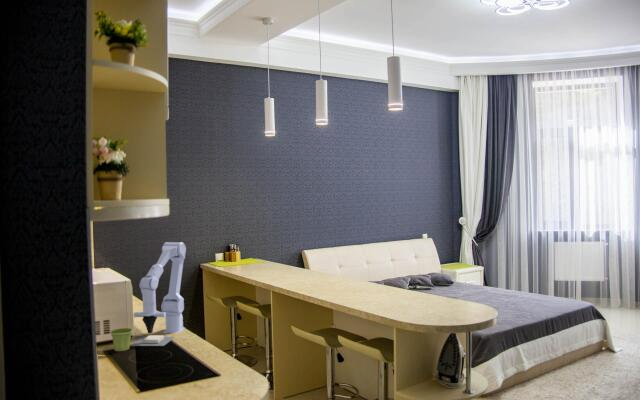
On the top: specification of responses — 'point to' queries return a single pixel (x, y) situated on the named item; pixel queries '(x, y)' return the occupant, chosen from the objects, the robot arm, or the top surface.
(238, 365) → the top surface
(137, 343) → the mat
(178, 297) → the robot arm
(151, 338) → the tile
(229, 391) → the top surface
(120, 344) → the plant pot
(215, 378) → the top surface
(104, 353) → the top surface
